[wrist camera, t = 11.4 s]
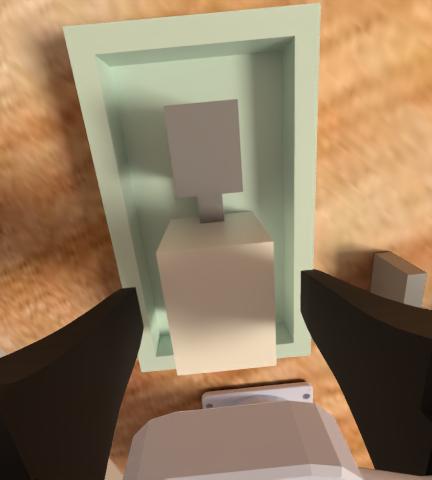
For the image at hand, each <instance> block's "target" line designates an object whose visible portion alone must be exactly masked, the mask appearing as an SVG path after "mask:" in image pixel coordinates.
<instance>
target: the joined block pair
mask: <svg viewBox="0 0 432 480" xmlns="http://www.w3.org/2000/svg"><path fill="white" fill-rule="evenodd" d="M163 107H164V115H165V122H166V129H167V136H168V143H169V150H170V158H171V165H172V172H173V179H174V186H175V193H176V198H186V197H196V196H197V198H198V207H199V216H197V217H187V218H177V219H171V220H170V222H169V225H168V227H167V229H166V231H165V234H164V236H163V238H162V241H161V243H160V245H159V247H158V250H157V252H156V256H157V262H158V267H159V273H160V279H161V284H162V290H163V296H164V302H165V307H166V313H167V319H168V324H169V330H170V336H171V341H172V347H173V353H174V358H175V364H176V370H177V375H188V374H198V373H208V372H217V371H227V370H237V369H247V368H256V367H266V366H276V327H275V284H274V241H273V240H272V239H271V237H270V236H269V234H268V233H267V231H266V230H265V229H264V227H263V226H262V224H261V223H260V221H259V220H258V219H257V217H256V216H255V214H254V213H253V211H248V212H238V213H228V214H224V212H223V200H222V194H227V193H237V192H243V181H242V164H241V147H240V130H239V113H238V99H231V100H221V101H210V102H200V103H189V104H179V105H168V106H163Z"/></svg>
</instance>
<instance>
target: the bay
mask: <svg viewBox="0 0 432 480" xmlns="http://www.w3.org/2000/svg"><path fill="white" fill-rule="evenodd" d="M426 277H427V273H426V272H425V271H423V270H421V269H419V268H418V267H416V266H414V265H413V264H411V263H409V262H408V261H406V260H404V259H402V258H401V257H399V256H397V255H396V254H394V253H392V252H380V253H374V261H373V270H372V279H371V289H370V293H373V294H376V295H378V296H381V297H384V298H387V299H391V300H394V301H397V302H400V303H404V304H407V305H411V306H415V307H419V308H421V305H422V299H423V294H424V288H425V283H426Z"/></svg>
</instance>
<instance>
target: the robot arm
mask: <svg viewBox="0 0 432 480" xmlns="http://www.w3.org/2000/svg"><path fill="white" fill-rule="evenodd" d="M300 312H301V314H302V317H303V319H304V322H305V324H306V327H307V329H308V331H309V333H310V335H311V337H312V338H313V340H314V342H315V343H316V345H317V347H318V349H319V350H320V352H321V354H322V355H323V357H324V359H325V361H326V362H327V364H328V366H329V367H330V369H331V371H332V372H333V374H334V376H335V378H336V380H337V382H338V384H339V386H340V388H341V390H342V392H343V394H344V396H345V399H346V401H347V403H348V405H349V407H350V410H351V412H352V414H353V417H354V419H355V421H356V424H357V426H358V428H359V431H360V433H361V435H362V438H363V440H364V443H365V445H366V448H367V450H368V453H369V455H370V458H371V460H372V463H373V465H374V468H375V469H369V468H362V467H357V465H356V463H355V460H354V458H353V456H352V454H351V452H350V450H349V448H348V446H347V444H346V441H345V439H344V437H343V435H342V433H341V431H340V429H339V427H338V425H337V422H336V420H335V418H334V416H333V415H331V414H330V413H328V412H327V411H326V410H324V409H323V408H321V407H320V406H318V405H317V404H315V403H313V388H312V386H311V384H310V383H308V382H299V383H289V384H279V385H270V386H260V387H250V388H240V389H230V390H221V391H211V392H205V393H204V394H203V395H202V406H203V409H198V410H188V411H178V412H173V413H170V414H167V415H163V416H160V417H157V418H154V419H151V420H149V421H148V422H147V423H146V424H145V425H144V426H143V427H142V428H141V429H140V430H139V431H138V432H137V433H136V434H135V435H134V436H133V440H132V444H131V448H130V452H129V456H128V460H127V464H126V468H125V472H124V476H123V480H432V310H428V309H424V308H419V307H415V306H411V305H407V304H404V303H400V302H397V301H394V300H391V299H387V298H384V297H381V296H378V295H376V294H373V293H370V292H368V291H365V290H363V289H360V288H358V287H355V286H353V285H351V284H348V283H346V282H344V281H342V280H339V279H337V278H335V277H333V276H331V275H328V274H326V273H324V272H321V271H319V270H315V269H313V270H303V271H301V293H300ZM143 329H144V325H143V320H142V315H141V310H140V306H139V301H138V296H137V291H136V287H131V288H122V289H120V290H118V291H116V292H115V293H113V294H112V295H110V296H109V297H107V298H106V299H105V300H103V301H102V302H100V303H99V304H98V305H96V306H95V307H93V308H92V309H91V310H89V311H88V312H86V313H85V314H83V315H82V316H80V317H79V318H77V319H76V320H74V321H72V322H71V323H69V324H68V325H66V326H64V327H63V328H61V329H59V330H58V331H56V332H54V333H52V334H50V335H48V336H47V337H45V338H43V339H41V340H39V341H37V342H35V343H33V344H30V345H28V346H26V347H24V348H22V349H20V350H18V351H15V352H13V353H11V354H9V355H6V356H4V357H1V358H0V480H104V479H105V474H106V469H107V463H108V459H109V454H110V449H111V445H112V440H113V435H114V431H115V426H116V422H117V418H118V414H119V409H120V406H121V402H122V399H123V396H124V393H125V390H126V387H127V384H128V381H129V378H130V375H131V373H132V370H133V367H134V364H135V361H136V358H137V355H138V352H139V349H140V345H141V340H142V335H143ZM304 394H305V395H304Z"/></svg>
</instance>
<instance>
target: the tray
mask: <svg viewBox="0 0 432 480" xmlns="http://www.w3.org/2000/svg"><path fill="white" fill-rule="evenodd" d="M320 12H321V3H313V4H302V5H291V6H281V7H270V8H259V9H248V10H237V11H226V12H216V13H205V14H194V15H183V16H172V17H162V18H151V19H140V20H129V21H118V22H108V23H97V24H86V25H75V26H64V27H62V28H63V32H64V36H65V41H66V45H67V50H68V54H69V58H70V63H71V67H72V71H73V76H74V80H75V84H76V89H77V93H78V97H79V102H80V106H81V111H82V115H83V119H84V124H85V128H86V132H87V137H88V141H89V145H90V150H91V154H92V158H93V163H94V167H95V172H96V176H97V180H98V185H99V189H100V193H101V198H102V202H103V206H104V211H105V215H106V220H107V224H108V228H109V233H110V237H111V241H112V246H113V250H114V254H115V259H116V263H117V267H118V272H119V276H120V281H121V285H122V288H131V287H136V291H137V296H138V301H139V306H140V310H141V315H142V320H143V325H144V329H143V335H142V340H141V345H140V349H139V352H138V359H139V363H140V368H141V372H150V371H160V370H169V369H176V364H175V358H174V353H173V347H172V341H171V336H170V330H169V324H168V319H167V313H166V307H165V302H164V296H163V290H162V284H161V279H160V273H159V267H158V262H157V256H156V252H157V250H158V247H159V245H160V243H161V241H162V238H163V236H164V234H165V231H166V229H167V227H168V225H169V222H170V220H171V219H177V218H187V217H197V216H199V207H198V198H197V196H196V197H186V198H176V193H175V186H174V179H173V172H172V165H171V158H170V150H169V143H168V136H167V129H166V122H165V115H164V107H163V106H168V105H179V104H189V103H200V102H210V101H221V100H231V99H238V113H239V130H240V147H241V164H242V181H243V192H237V193H227V194H222V200H223V212H224V214H228V213H238V212H248V211H253V213H254V214H255V216H256V217H257V219H258V220H259V221H260V223H261V224H262V226H263V227H264V229H265V230H266V231H267V233H268V234H269V236H270V237H271V239H272V240H273V241H274V284H275V327H276V359H277V358H287V357H297V356H307V355H311V335H310V333H309V331H308V329H307V327H306V324H305V322H304V319H303V317H302V314H301V312H300V293H301V271H303V270H313V254H314V220H315V185H316V151H317V116H318V81H319V47H320Z"/></svg>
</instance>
